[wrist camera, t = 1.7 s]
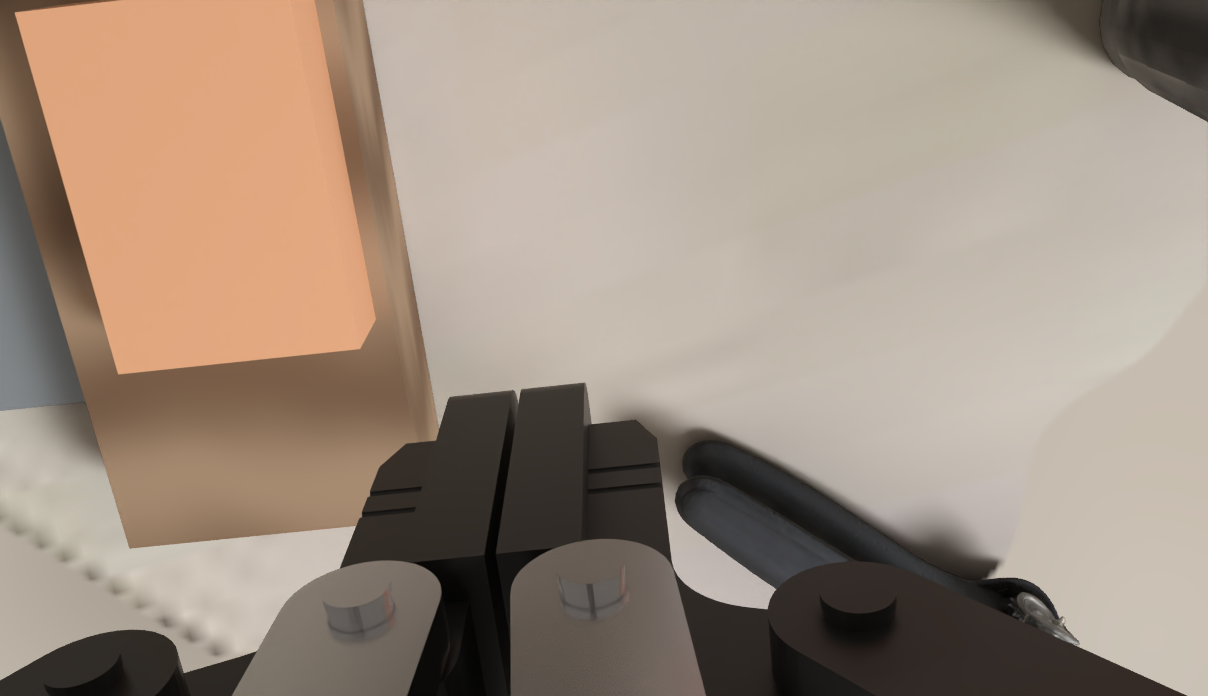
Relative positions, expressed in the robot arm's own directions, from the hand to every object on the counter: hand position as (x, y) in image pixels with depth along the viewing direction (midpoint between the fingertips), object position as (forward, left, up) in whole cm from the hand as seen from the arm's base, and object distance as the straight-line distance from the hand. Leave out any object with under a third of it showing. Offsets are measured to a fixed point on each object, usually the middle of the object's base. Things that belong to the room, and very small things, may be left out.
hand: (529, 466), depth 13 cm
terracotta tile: (0, -10, -20) cm, 22 cm away
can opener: (+18, +9, -25) cm, 32 cm away
